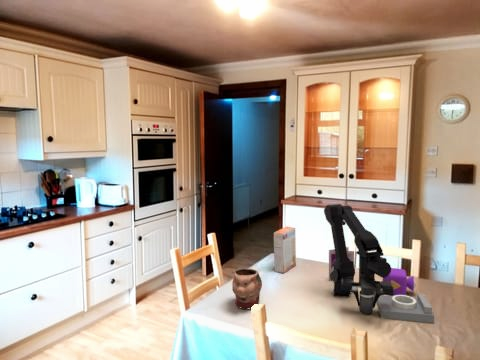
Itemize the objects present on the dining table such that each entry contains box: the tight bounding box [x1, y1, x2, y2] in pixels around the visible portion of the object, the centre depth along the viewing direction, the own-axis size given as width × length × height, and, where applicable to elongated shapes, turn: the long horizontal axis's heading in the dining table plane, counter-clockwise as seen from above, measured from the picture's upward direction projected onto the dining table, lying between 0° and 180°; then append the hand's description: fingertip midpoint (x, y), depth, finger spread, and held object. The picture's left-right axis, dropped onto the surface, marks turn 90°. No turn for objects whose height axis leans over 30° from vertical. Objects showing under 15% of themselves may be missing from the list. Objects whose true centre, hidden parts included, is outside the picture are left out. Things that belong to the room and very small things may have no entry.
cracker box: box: [273, 226, 297, 274], centre depth 188 cm, size 14×6×21 cm, turn 145°
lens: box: [358, 289, 374, 316], centre depth 140 cm, size 5×5×8 cm
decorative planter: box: [231, 268, 263, 309], centre depth 150 cm, size 20×12×14 cm, turn 170°
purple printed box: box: [328, 246, 355, 282], centre depth 173 cm, size 11×7×15 cm, turn 77°
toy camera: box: [382, 267, 417, 296], centre depth 158 cm, size 11×14×10 cm
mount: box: [376, 293, 435, 324], centre depth 140 cm, size 18×14×5 cm
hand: (366, 306), depth 141 cm, fingers closed on lens, 5 cm apart
